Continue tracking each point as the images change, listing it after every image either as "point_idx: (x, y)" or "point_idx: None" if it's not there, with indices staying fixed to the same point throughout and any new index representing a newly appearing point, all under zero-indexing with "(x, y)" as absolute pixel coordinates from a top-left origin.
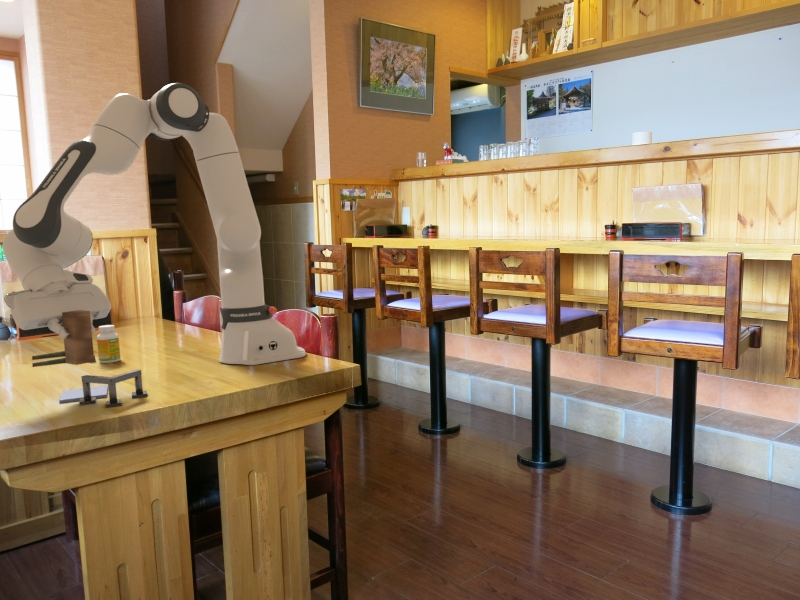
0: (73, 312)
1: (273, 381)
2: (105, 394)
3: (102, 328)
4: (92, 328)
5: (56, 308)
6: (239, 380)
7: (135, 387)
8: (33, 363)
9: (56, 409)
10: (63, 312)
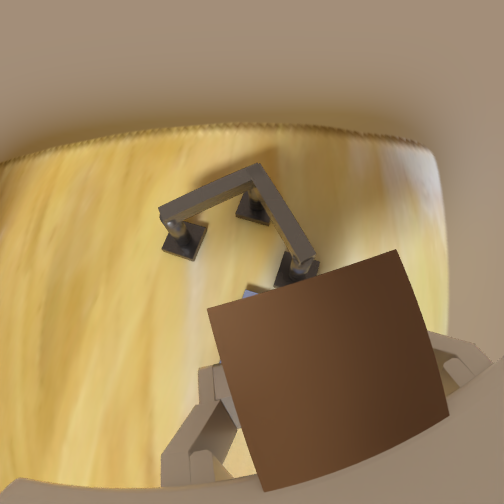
0: (374, 321)
1: (22, 169)
2: (247, 290)
3: None
4: (212, 371)
5: (498, 439)
6: (28, 211)
7: (187, 232)
8: None
9: None
10: (440, 406)
